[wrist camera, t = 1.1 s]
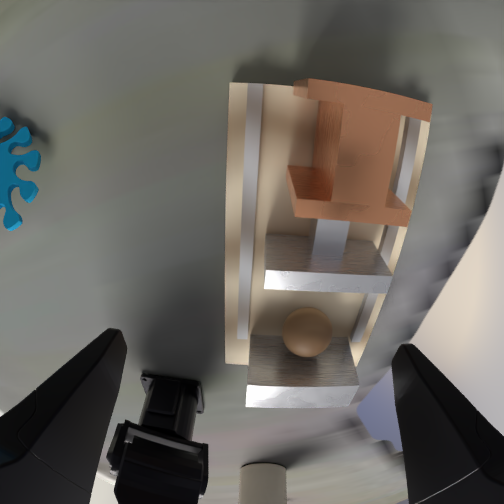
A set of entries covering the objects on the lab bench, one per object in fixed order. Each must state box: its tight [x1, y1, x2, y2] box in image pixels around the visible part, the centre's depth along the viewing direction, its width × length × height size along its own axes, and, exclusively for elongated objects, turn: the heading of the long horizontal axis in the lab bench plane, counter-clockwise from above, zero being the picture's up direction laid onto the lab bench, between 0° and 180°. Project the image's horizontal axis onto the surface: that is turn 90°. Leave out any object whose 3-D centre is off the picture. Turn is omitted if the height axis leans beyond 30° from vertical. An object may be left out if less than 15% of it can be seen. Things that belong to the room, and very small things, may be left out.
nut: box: [282, 307, 333, 357], centre depth 21 cm, size 4×4×4 cm
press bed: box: [225, 83, 432, 366], centre depth 21 cm, size 22×12×2 cm, turn 177°
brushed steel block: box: [246, 334, 360, 408], centre depth 22 cm, size 3×8×5 cm, turn 87°
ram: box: [264, 78, 432, 294], centre depth 15 cm, size 10×7×5 cm
